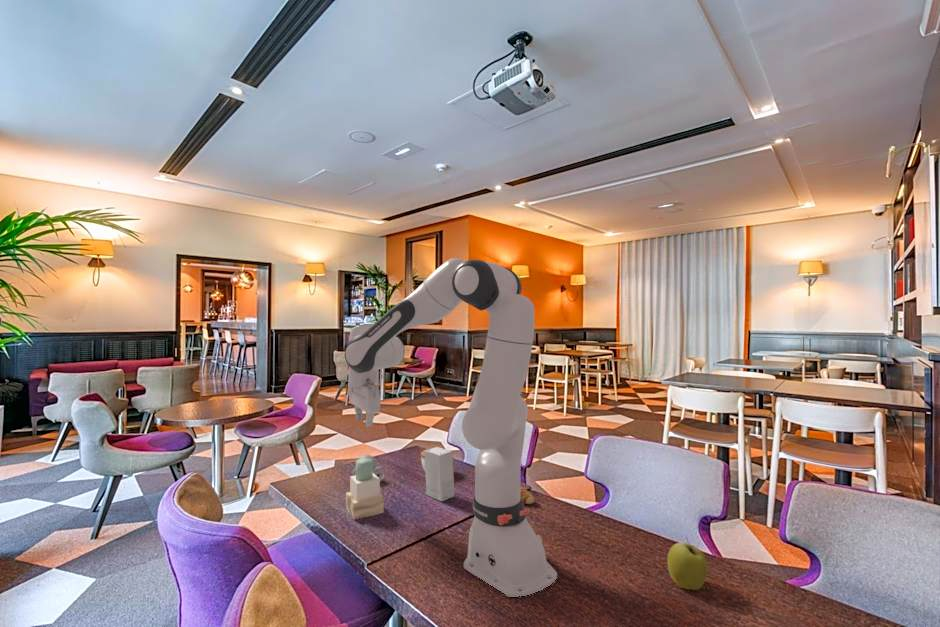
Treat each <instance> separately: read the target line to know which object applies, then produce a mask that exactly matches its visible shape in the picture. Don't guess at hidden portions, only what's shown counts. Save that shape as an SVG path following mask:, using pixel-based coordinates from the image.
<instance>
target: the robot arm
mask: <svg viewBox="0 0 940 627" xmlns="http://www.w3.org/2000/svg"><path fill="white" fill-rule="evenodd" d="M462 302H464V303H466V304H468V305H470V306H471V307H473V308H475V309H476V310H479V311H486V312H487V313H488V318H489V322H488V323H489V324H488V329H487V334H486V341H485V342H486V343H485V348H484V355H483V361H482V366H481V370H480V374H479V376H478V379H477V381H476V385H475V387H474V392H473V394H472V398H471V401H470V404H469V406H468V409H467V410H466V412H465V414H464V416H463V418H462V422H461V431H462V434H463V437H464V439H465V440H466V442H467V443H468V444H469V445H470V446H471V447H473V448H475V449H477V450H479V451H478V454H477V455H478V456H477V458H476V461H475V465H474V496H473V498H472V501H473V502H472V513H473V516H474V517H473V519H472V524H471V526H470V528H469V534H468V546H467V547H468V548H467V557H466V558H465V560H464V561H463V570H466V571H467V572H469V573H470V574H472V575H474V576H475V577H476V576H477V578H478V579H479V578H480V579H479V580H481V579H482V580H483V581H482V580H481V581H482V582H484V581H485V582H486V584H487V583H488V584H489V585H488V584H487V585H488V586H490V585H491V586H493V587H494V588H496V589H497V590H499V591H501V592H502V593H504V594H505V595H507V596H510V597H519V596H520V597H519V598H522V597H521V596H525V597H527V596H526V595H529V596H531V595H530V594H532V595H534V594H533V593H535V592H538V591H540V592H542V591H544V590H545V589H544V588H546V587H548V586H550V585H551V584H552V583H553V582H554V583H556V581H557V580H558V577H557V576H558V572H557V571H556V570H555V568H554V567H553V566H552V565H551V564H550V563H549V562H548V561H547V555H546V550H545V547H544V545H543V538H542V536H541V535H539V534H536V532H535V531H534V529H533V528H532V526H531V524H530V523H529V521H528V519H527V518H526V516H527V515H528V514H529V512H527V511H529V509H528V508H526V509H525V504H524V503H523V501H522V498H521V484H522V482H521V477H522V476H521V473H522V472H521V469H522V468H521V465H522V457H523V452H524V451H523V450H524V444H525V435H526V433H525V432H526V426H527V424H526V422H527V418H528V414H529V408H528V407H529V406H528V404H527V403H526V400H525V398H523V396H521V394H522V391H523V388H524V384H525V382H526V380H527V377H528V375H529V368H530V361H531V355H532V350H533V349H532V348H533V343H534V342H533V341H534V338H535V337H534V336H535V335H534V334H535V320H536V319H535V316H536V315H535V306H534V303H533V302H532V300H531V299H530V298H528V297H527V296H525V295H522V282H521V280H520V277H519V275H518V274H516V272H514V271H513V270H511V269H509V268H507V267H504V266H501V265H499V264H498V263H496V262H490V261H484V260H481V259H469V260H464V259H461V258H458V257H452V258H450V259H448V260H447V261H445V262H443V263H442V264H441V265H440V266H438V267H437V268H436V269H435V270H433V272H431V273H430V275H428V277H426V279H425V280H423V282H422V283H421V284H419V286H418V287H417V288H416V289H415V290H413V291H412V292H411V293H410V294H409V295H408V296H406V297H404V298H403V299H402V300H401V301H399V302H398V303H397V304H395V305H394V306H393V307H392V308H390V309H389V310H388V311H387V312H386V313H384V315H382V316H381V317H380V318H379V319H378V320H377V321H376V322H374V324H373V323H365V324H359V325H356V326H354V327H352V328H351V329H350V333H349V336H348V337H349V338H348V343H347V344H346V347H345V349H344V359H345V362H346V364H347V365H348V372H347V374H346V376H345V379H346V382H348V383H347V388H348V392H347V393H348V399H349V400H348V401H349V402H350V404H351V405H352V406H354V410H355V418H356V419H355V420H357V421H359V422H361V421H363V419H364V414H363V411H364V413H365V415H366V418H365V424H364V425H365V426H366V427H368V428H371V427H373V426H374V418H375V414H377V413H380V411H381V394H380V389H379V387H378V385H376V384H378V383H379V381H380V380H379V378H380V376H379V375H380V374H379V373H380V371H379V370H382V369H383V370H384V369H389V368H394V367H397V366H399V365H400V364H401V363H402V361H403V360H404V358H405V354H406V353H405V345H404V343H403V342H402V340H401V338H399V337H398V335H399V334H400V333H402V332H404V331H406V330H409V329H412V328H416V327H420V326H425V325H430V324H435V323H437V322H440V321H441V320H443V319H445V318H446V317H448V316H449V315H450V314H451V313H452V312H453V311H454V310H455V309H456V308H457V307H458V306H459V305H460V304H461V303H462ZM556 579H557V580H556ZM555 580H556V581H555ZM485 582H484V583H485ZM554 583H553V584H554ZM553 584H552V585H553ZM552 585H551V586H552ZM491 586H490V587H491ZM551 586H550V587H551ZM493 587H492V588H493ZM494 588H493V589H494ZM548 588H549V587H548ZM496 589H495V590H496ZM543 589H544V590H543ZM546 589H547V588H546ZM497 590H496V591H497ZM541 590H542V591H541ZM499 591H498V592H499ZM502 593H501V594H502ZM538 593H539V592H538ZM504 594H503V595H504ZM535 594H536V593H535ZM505 595H504V596H505ZM507 596H506V597H507Z"/></svg>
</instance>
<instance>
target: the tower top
mask: <svg viewBox="0 0 940 627" xmlns="http://www.w3.org/2000/svg"><path fill="white" fill-rule="evenodd" d="M349 484H350V485H349V489H350V490H349V492H350V493H351V495H352V496H353V497H354V498H355V500H356V501H360V500H364V499H368V498H373V497H377V496H380V493H381V482H380V479H379V478H378V477H377V476H376V475H375V474H374V473H373V478H372V479H370V480H367V481H358V480H356V475H354V476H353V475H350V476H349Z"/></svg>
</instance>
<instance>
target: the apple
mask: <svg viewBox="0 0 940 627" xmlns="http://www.w3.org/2000/svg"><path fill="white" fill-rule="evenodd" d="M685 538H686V541H687V542H677V543H675V544H673V545H672V546H671V547H670V549H669V550H668V553H667V570H668V573H669V576H670V577H671V579H672V581H673V582H674V583H675V584H676V585H677V586H678V587H679V588H681V587H682V588H681V589H683V588H685V589H684V590H690V589H691V590H692V591H698V590H701V588H702V587H703V585H704V583H705V582H706V579H707V577H708V576H707V575H708V568H709V567H708V566H709V565H708V561H707V559H706V556H705V554H704V552H703V551H702V550H701V549H700V548H698V547H697V546H696V545H693V544H690V543H689V541H688V537H685Z"/></svg>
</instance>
